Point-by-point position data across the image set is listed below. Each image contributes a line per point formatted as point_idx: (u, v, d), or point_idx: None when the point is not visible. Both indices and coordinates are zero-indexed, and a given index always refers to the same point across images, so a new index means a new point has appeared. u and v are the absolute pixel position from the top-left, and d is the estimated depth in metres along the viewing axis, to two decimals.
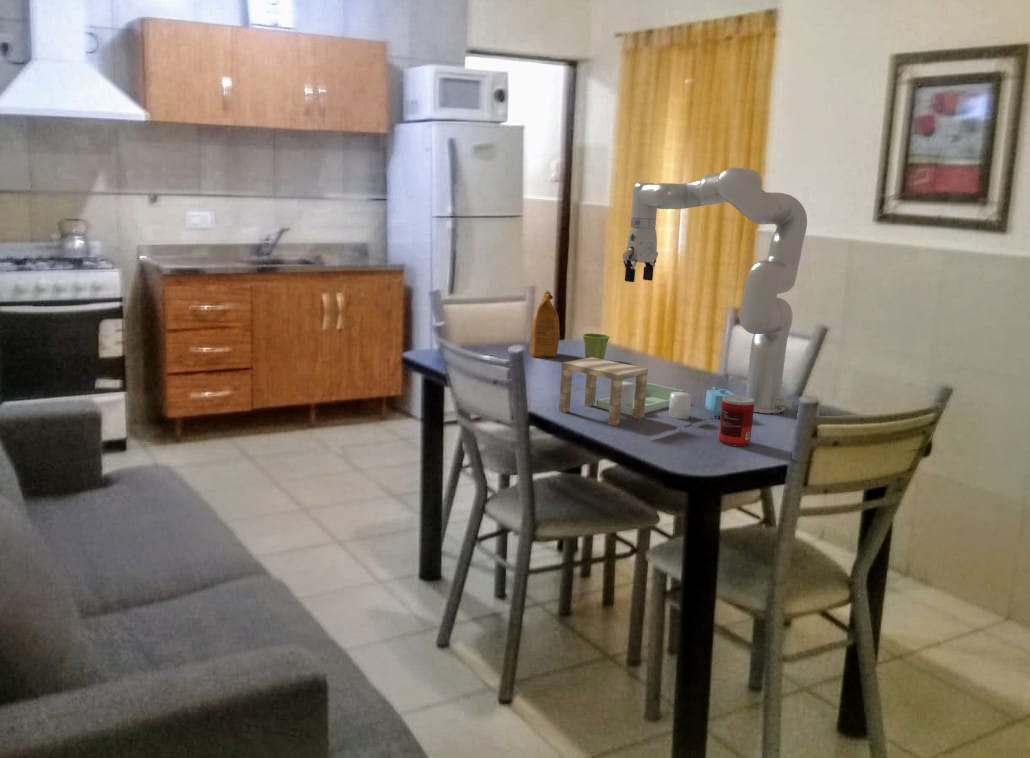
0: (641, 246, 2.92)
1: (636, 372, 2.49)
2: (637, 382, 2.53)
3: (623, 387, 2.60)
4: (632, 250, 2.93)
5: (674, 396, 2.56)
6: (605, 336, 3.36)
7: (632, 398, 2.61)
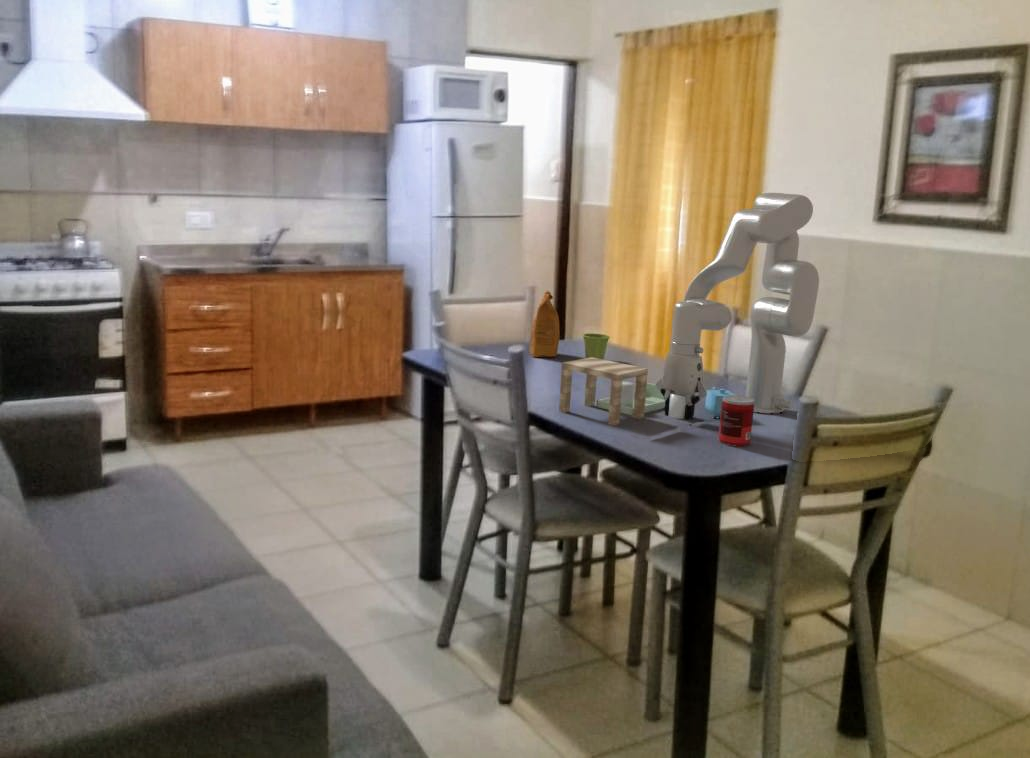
0: None
1: (636, 372, 2.49)
2: (637, 382, 2.53)
3: (623, 387, 2.60)
4: None
5: (674, 396, 2.56)
6: (605, 336, 3.36)
7: (632, 398, 2.61)
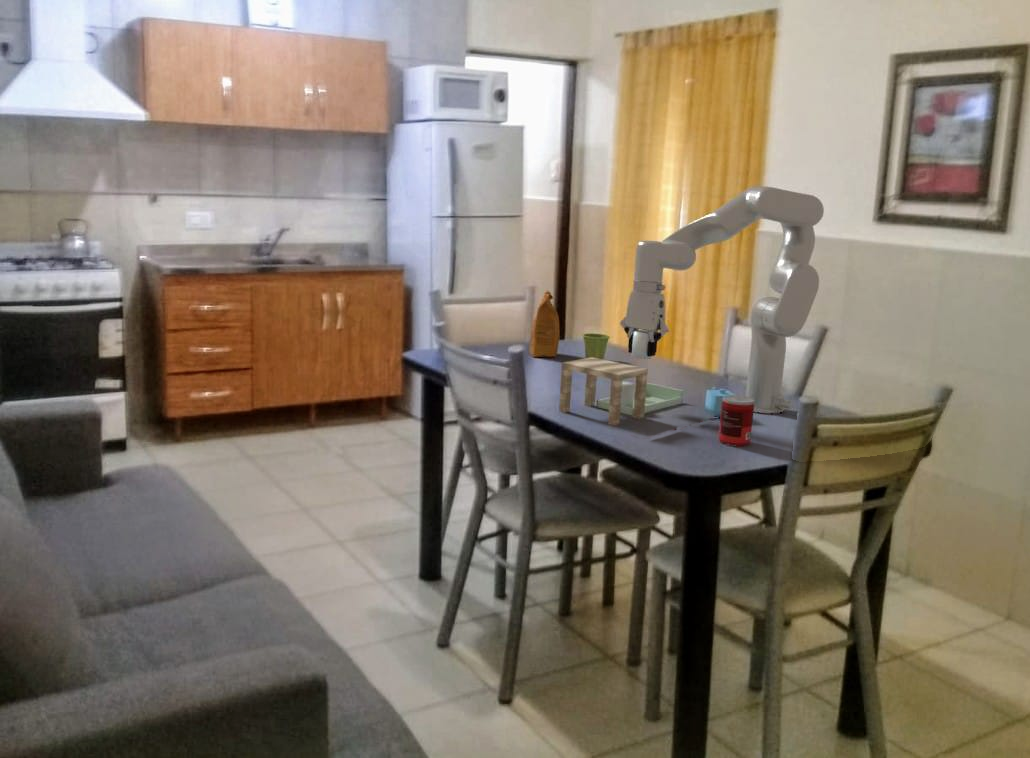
0: None
1: (636, 372, 2.49)
2: (637, 382, 2.53)
3: (623, 387, 2.60)
4: None
5: (637, 333, 2.62)
6: (605, 336, 3.36)
7: (632, 398, 2.61)
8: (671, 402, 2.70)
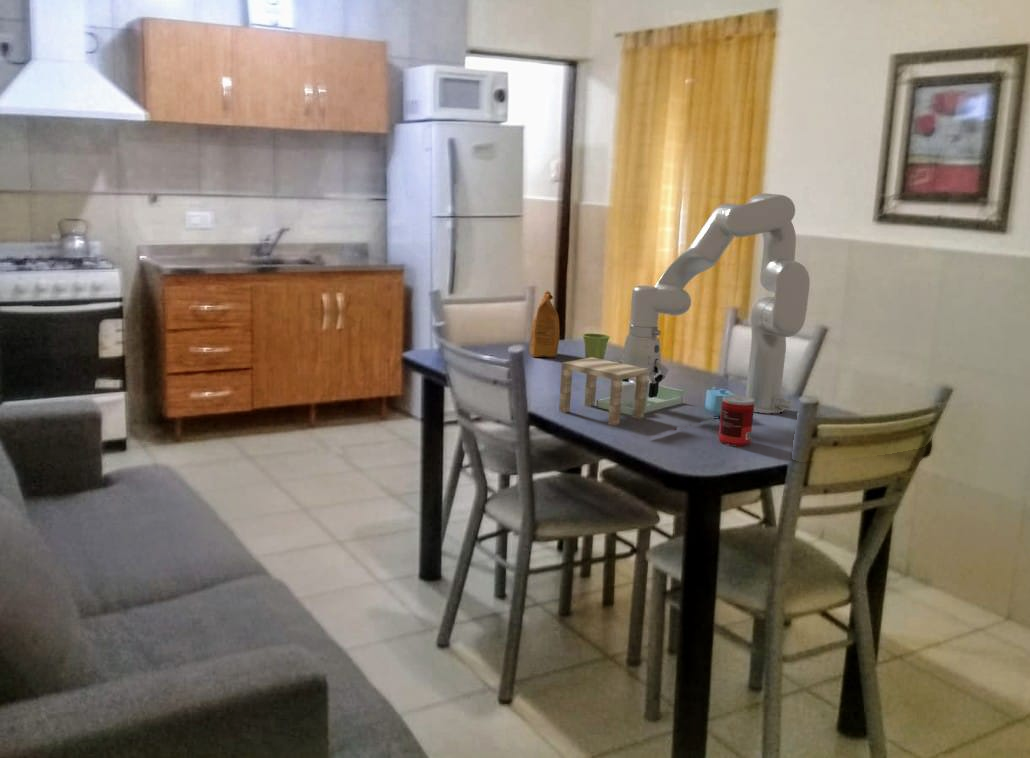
0: None
1: (636, 372, 2.49)
2: (637, 382, 2.53)
3: (623, 387, 2.60)
4: None
5: (632, 382, 2.65)
6: (605, 336, 3.36)
7: (632, 398, 2.61)
8: (671, 402, 2.70)
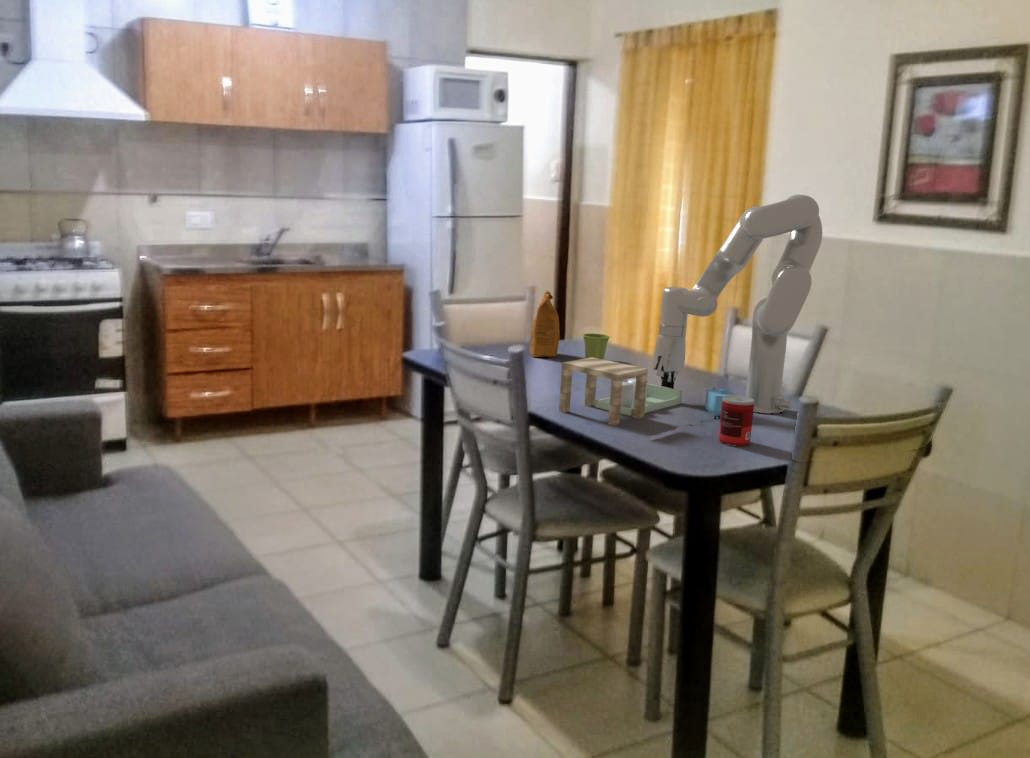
0: None
1: (636, 372, 2.49)
2: (637, 382, 2.53)
3: None
4: None
5: (630, 382, 2.65)
6: (605, 336, 3.36)
7: (630, 398, 2.61)
8: (669, 402, 2.69)
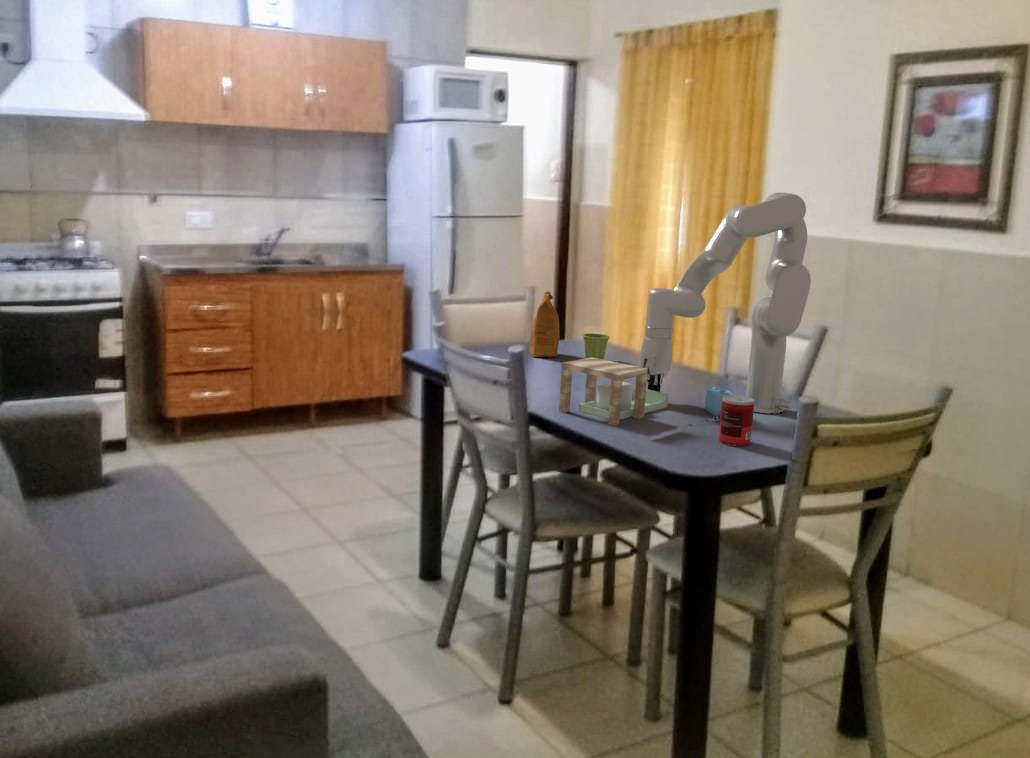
0: None
1: (636, 372, 2.49)
2: (637, 382, 2.53)
3: (606, 391, 2.54)
4: None
5: None
6: (605, 336, 3.36)
7: None
8: (655, 406, 2.64)
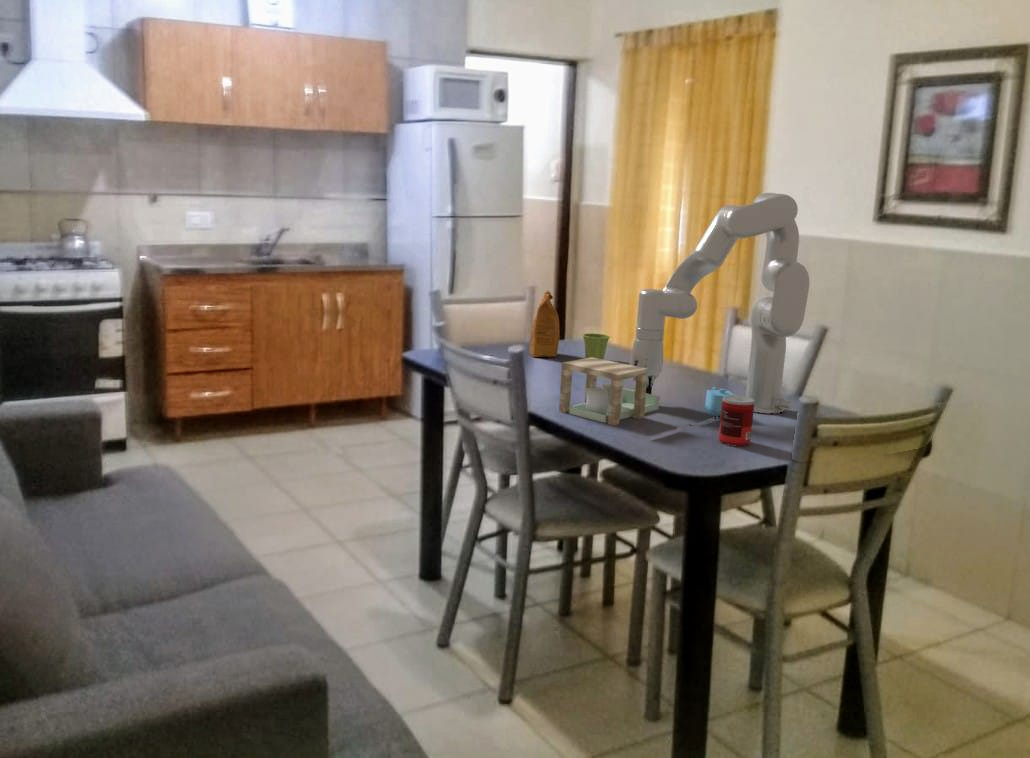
0: None
1: (636, 372, 2.49)
2: (637, 382, 2.53)
3: (596, 393, 2.51)
4: None
5: (605, 388, 2.56)
6: (605, 336, 3.36)
7: (605, 404, 2.52)
8: (646, 408, 2.61)
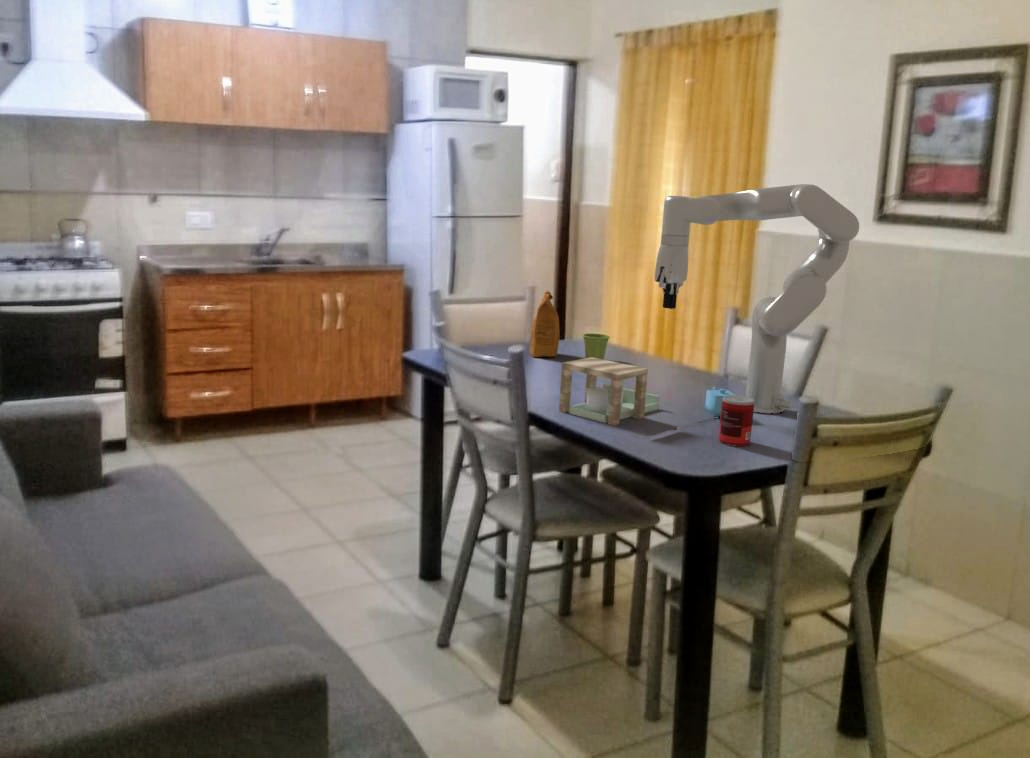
0: None
1: (636, 372, 2.49)
2: (637, 382, 2.53)
3: (596, 393, 2.51)
4: None
5: (606, 388, 2.56)
6: (605, 336, 3.36)
7: (605, 404, 2.52)
8: (646, 408, 2.61)
